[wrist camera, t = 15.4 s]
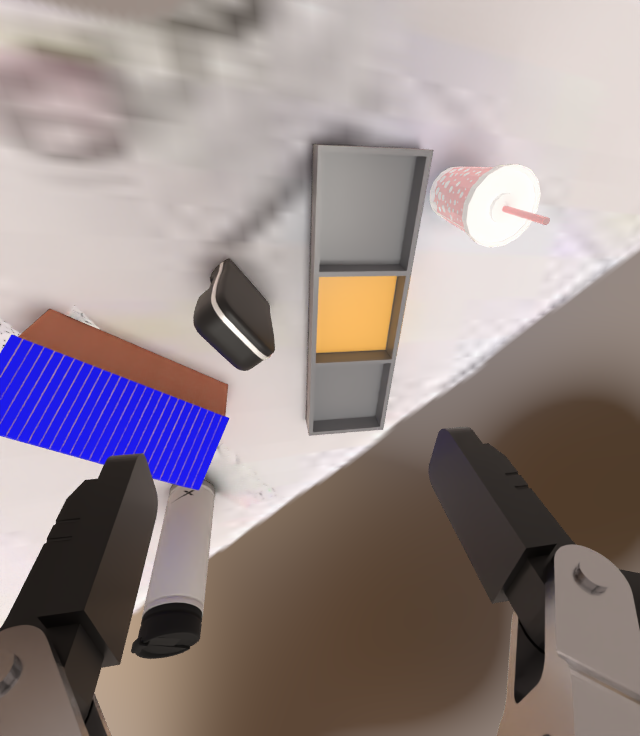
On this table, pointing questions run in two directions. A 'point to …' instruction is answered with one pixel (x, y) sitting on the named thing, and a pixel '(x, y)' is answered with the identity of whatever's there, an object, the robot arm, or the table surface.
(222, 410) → the house
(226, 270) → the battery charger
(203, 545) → the travel mug
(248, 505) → the table surface
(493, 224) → the beverage cup
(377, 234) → the tray
